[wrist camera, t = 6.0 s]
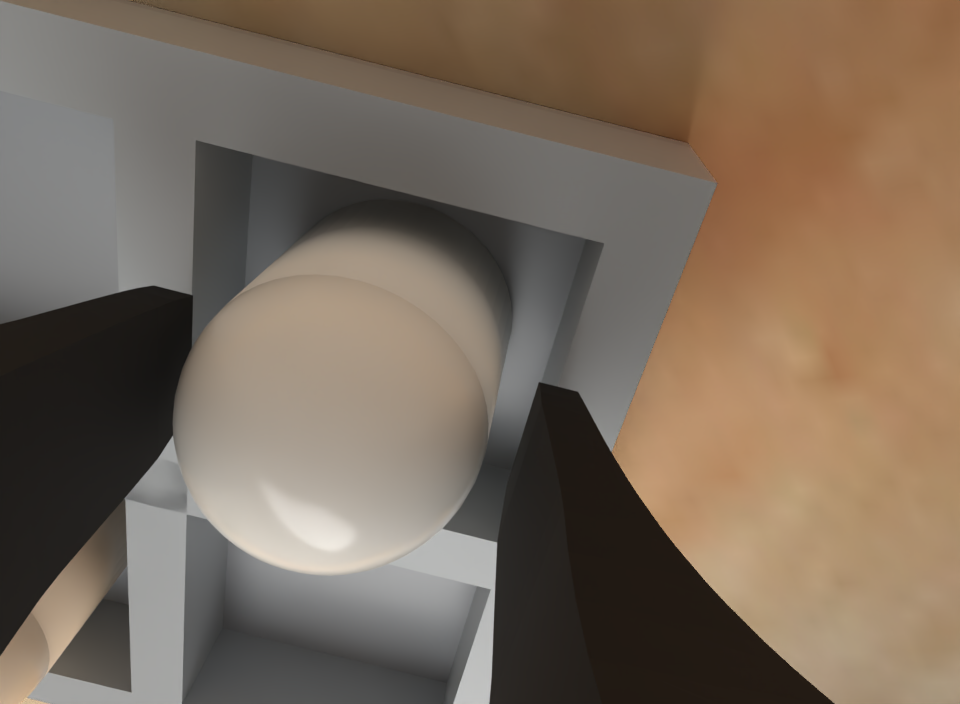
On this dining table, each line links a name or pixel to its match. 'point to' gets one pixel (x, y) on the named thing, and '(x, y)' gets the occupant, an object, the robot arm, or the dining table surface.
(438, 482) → the white egg
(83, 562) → the brown egg
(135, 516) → the egg carton
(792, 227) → the dining table surface
